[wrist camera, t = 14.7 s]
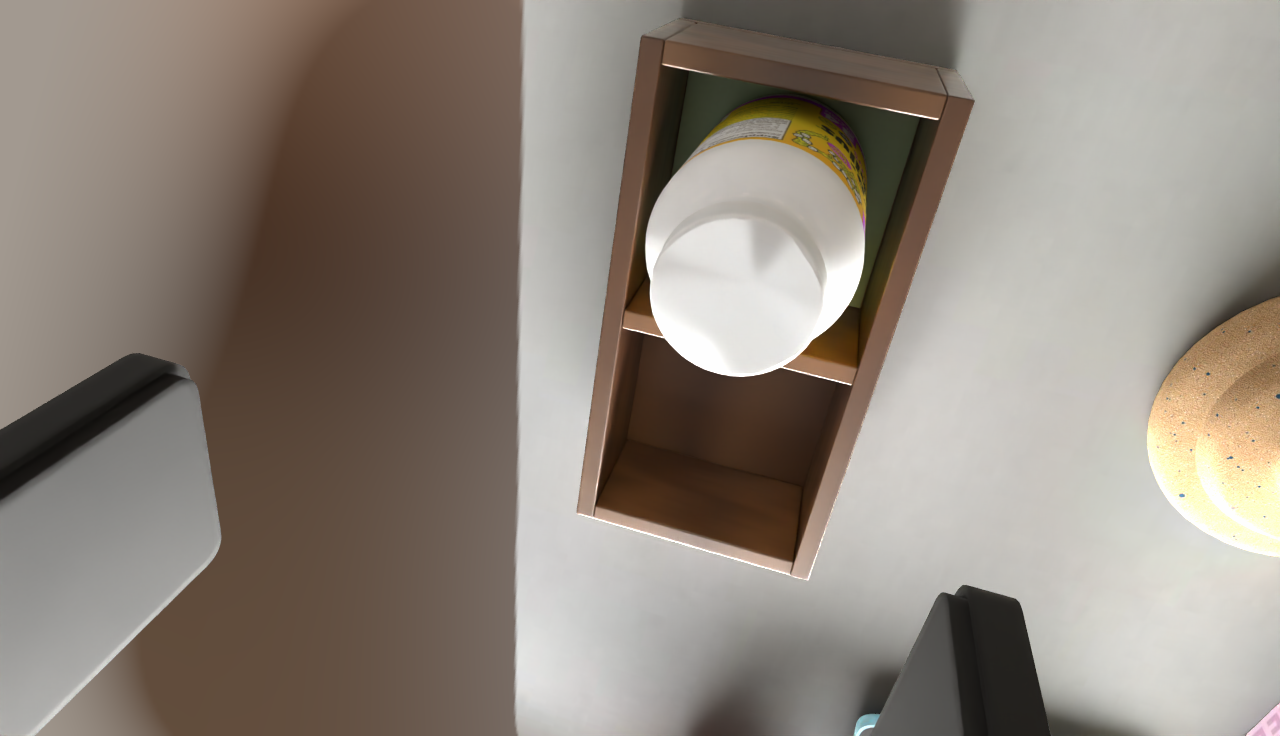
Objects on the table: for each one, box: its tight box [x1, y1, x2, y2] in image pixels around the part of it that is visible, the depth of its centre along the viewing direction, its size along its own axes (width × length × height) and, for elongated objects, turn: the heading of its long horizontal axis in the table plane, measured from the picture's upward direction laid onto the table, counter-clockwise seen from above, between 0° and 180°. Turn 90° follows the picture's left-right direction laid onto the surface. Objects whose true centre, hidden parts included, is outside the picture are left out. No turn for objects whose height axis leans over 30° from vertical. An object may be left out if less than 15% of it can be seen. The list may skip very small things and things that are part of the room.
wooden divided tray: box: [577, 17, 975, 580], centre depth 33 cm, size 11×20×6 cm, turn 172°
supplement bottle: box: [645, 94, 867, 376], centre depth 27 cm, size 7×7×13 cm
